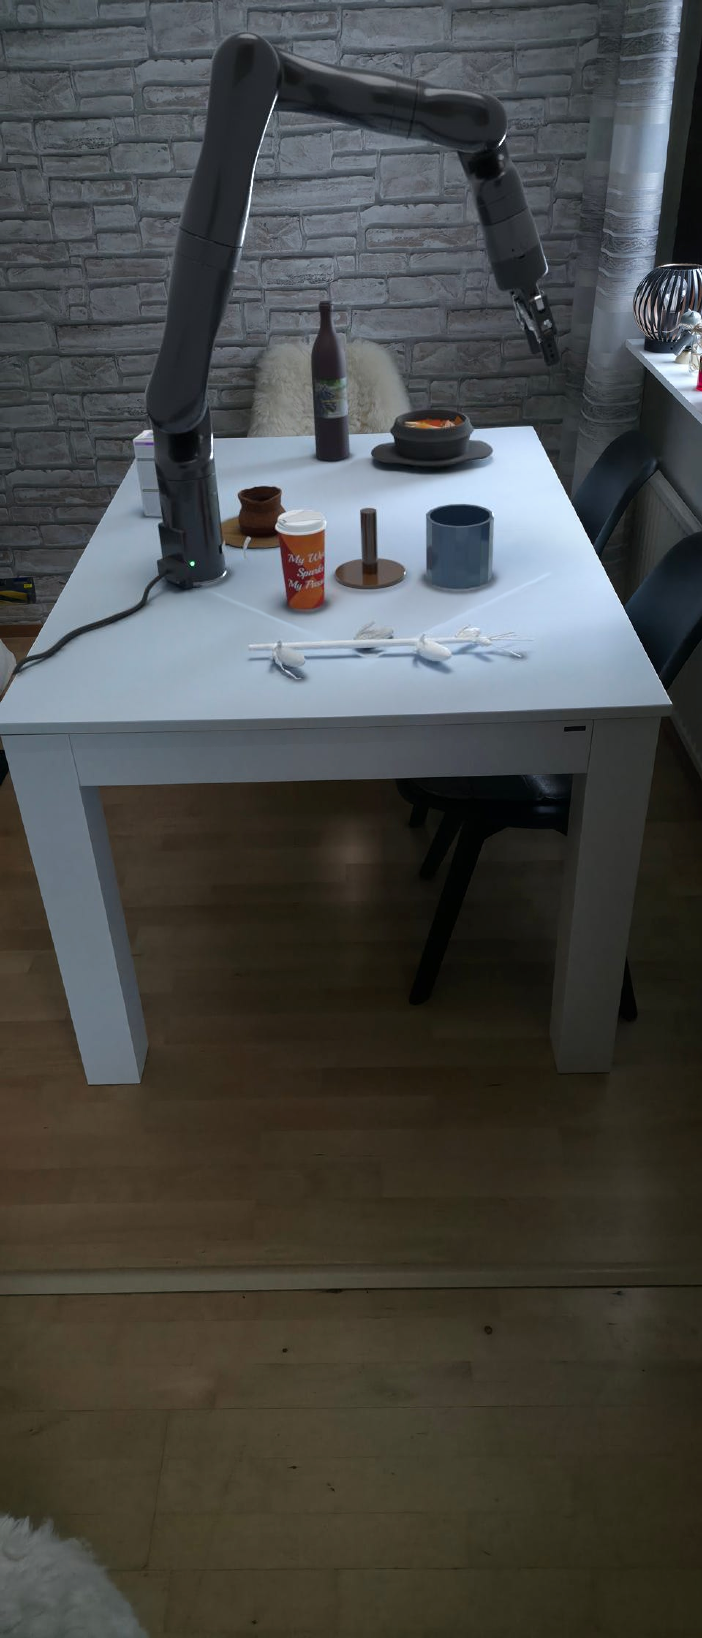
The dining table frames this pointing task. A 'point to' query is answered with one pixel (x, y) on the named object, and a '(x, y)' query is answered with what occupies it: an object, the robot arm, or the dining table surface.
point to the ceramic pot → (255, 518)
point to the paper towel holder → (369, 560)
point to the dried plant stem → (377, 642)
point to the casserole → (431, 440)
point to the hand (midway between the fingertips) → (545, 358)
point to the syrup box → (147, 473)
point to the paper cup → (303, 557)
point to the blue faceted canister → (459, 546)
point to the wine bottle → (329, 390)
